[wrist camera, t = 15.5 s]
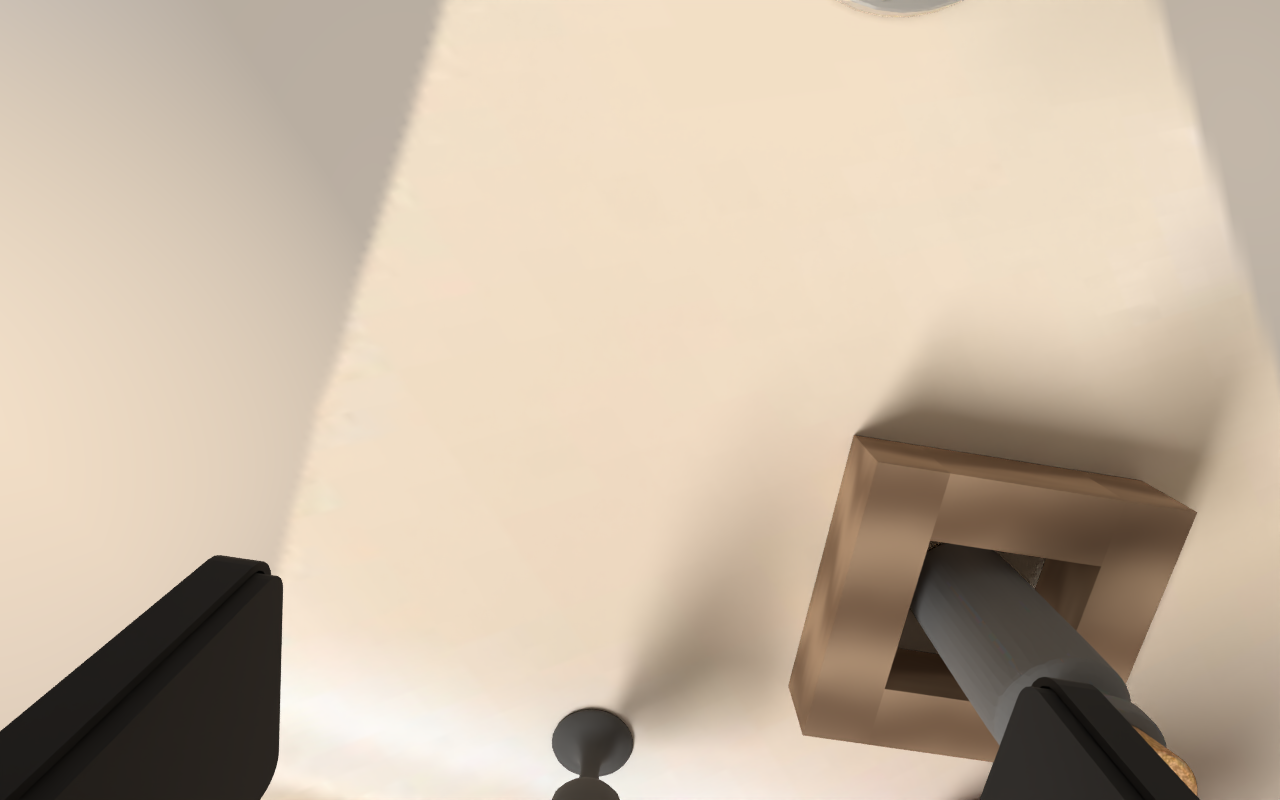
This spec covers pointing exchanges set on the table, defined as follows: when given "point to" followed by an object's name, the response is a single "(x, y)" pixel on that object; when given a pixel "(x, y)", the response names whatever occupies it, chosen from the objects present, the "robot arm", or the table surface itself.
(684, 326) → the table surface
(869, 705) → the collar block
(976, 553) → the bottle
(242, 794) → the robot arm
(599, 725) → the sundae
